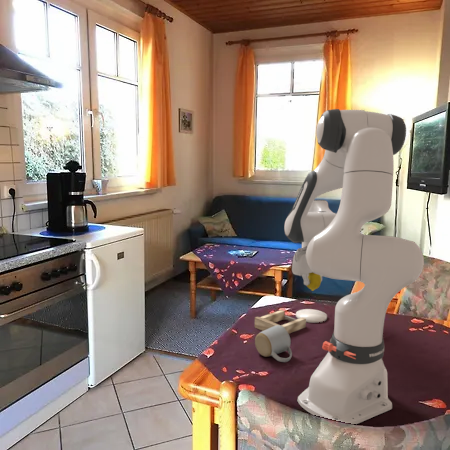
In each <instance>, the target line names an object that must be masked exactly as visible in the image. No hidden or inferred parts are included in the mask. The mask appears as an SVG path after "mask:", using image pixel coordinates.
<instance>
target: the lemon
mask: <svg viewBox="0 0 450 450" xmlns="http://www.w3.org/2000/svg"><path fill="white" fill-rule="evenodd" d="M308 279H309V280H310V285H307V286H306V287H307V288H308V289H309V290H310V291H312V292H314V291H315V290H317V289H318V288H320V286H321V283H322V281H321V276H320V275H318V274H315V273H313V272H312V273H309V276H308Z"/></svg>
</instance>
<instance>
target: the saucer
mask: <svg viewBox="0 0 450 450" xmlns="http://www.w3.org/2000/svg"><path fill="white" fill-rule="evenodd" d="M295 317H296V318H295V319H299V318H302V317H303V318H306V323H312V324H313V323H314V324H316V323H317V324H318V323H319V322H320V323H323V321H324V322H326V321H327V319H328V314H327V313H325V312H324V311H321V310H318V309H312V308H305V309H304V308H303V309H299V310H297V311H296V312H295Z"/></svg>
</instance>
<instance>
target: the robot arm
mask: <svg viewBox="0 0 450 450" xmlns="http://www.w3.org/2000/svg"><path fill="white" fill-rule="evenodd" d="M315 132H316V133H315V134H316V140H317V143H318V145H319V147H320V148H322V149H323V150H324V154H323V156H322V159H321V161H320V163H318V165H317V166H316V168H315V169H313V170H311V171H310V172H308V174H307V175H306V177H305V179H304V180H303V183H302V185H301V186H300V189H299V192H298V194H297V197H296V199H295V201H294V204H293V206H292V208H291V210H290V211H289V213H288V214H287V216H286V218H285V221H284V228H283V229H284V235H285V237H287V239H288V240H290V241H291V242H292V243H295V244H297V243H301V247H300V248H299V247H298V248H297V249H296V251H295V252H294V255H293V257H292V258H293V259H292V266H291V271H292V274H293V275H294V276H299V277H302V279H303V285H304V286H306V287H307V285H310V280H309V279H308V276H309V273H312V272H313V273H315V274H318V275H320V276H321V282H323V277H325V278H329V279H331V280H343V281H349V282H350V281H352V282H360V283H362V284H364V286H363V287H362V289H360V290H358V291H356V292H352V293H350V294H347V295H345V296H343V297H341V298H340V299H339V300H338V301H337V303H336V305H335V307H334V324H333V325H334V327H333V328H334V329H333V333H332V336H331V338H330V339H329V341H327V340H325V341H324V342H323V343H322V347H321V348H322V350H323V351H328V352H327V353H326V354H325V356H324V357H323V359H322V361H320V363H319V365H318V366H317V368H316V369H315V370H314V372H313V373H312V374H311V375H310V379H309V384H308V387H307V388H306V389H304V391H302V392H301V393H300V394H299V395H298V396H297V402H298V405H300V407H301V408H303V410H305V411H306V412H308V413H309V414H311V415H313V416H314V415H316V416H320V417H324V418H328V419H332V420H336V421H341V422H345V423H351V424H356V425H357V424H360V423H363V422H364V421H367V420H369V419H371V418H373V417H376V416H378V415H381V414H383V413H386V412H388V411H390V410H392V409H393V402H392V401H391V400H390V398H389V397H388V395H389V394H388V393H389V392H388V385H389V384H388V371H387V368H386V366H385V364H384V361H383V360H384V359H383V357H384V355H385V353H384V352H385V340H384V337H383V336H384V334H383V333H384V326H385V319H386V313H387V309H388V307H389V305H390V303H391V302H392V300H393V298H394V297H395V296H396V295H397V294H398V293H399V292H400V291H402V290H403V289H405V288H406V287H407V286H409V285H412V284H413V283H415V282H416V281H417V280H418V278H420V276H421V274H422V272H423V270H424V265H425V259H424V254H423V251H422V249H421V248H420V247H419V245H418V244H417V243H416V242H415V241H412V240H409V239H406V238H405V239H404V238H402V237H397V236H390V235H389V236H388V235H375V234H364V233H361V229H362V228H363V226H364V225H365V224H367V223H369V222H371V221H374V220H377V219H379V218H381V217H383V216H384V215H386V214H387V213H388V212H389V211H390V209H391V206H392V202H393V201H392V200H393V199H392V198H393V187H394V184H393V183H394V168H395V167H394V164H395V163H394V155H396V154H398V153H399V152H400V151H401V150H402V149H403V147H404V144H405V141H406V138H407V137H406V136H407V126H406V123H405V121H404V119H403V118H402V117H400V116H398V115H394V114H392V113H388V114H385V113H380V112H375V111H365V109H364V110H363V109H339V108H333V109H328V110H324V112H323V113H322V114H321V116H320V118H319V120H318V122H317V125H316V130H315ZM339 189H342V190H341V197H340V203H339V207H338V210H337V212H333V211H332V210H331V209H330V207H329V203H328V201H327V200H325V199H317V198H318V197H319V196H322V195H324V194H326V193H328V192H332V191H335V190H339ZM316 416H315V417H316Z"/></svg>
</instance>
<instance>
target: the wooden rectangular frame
mask: <svg viewBox="0 0 450 450" xmlns="http://www.w3.org/2000/svg"><path fill="white" fill-rule="evenodd" d="M282 320H283V321H284V320H286V321H288V322H287V323H286V322H285V323H284V324H281V326H282V327H284V328H285V329H286V330H287V332H288V334H289V335H290V334H291V333H294V332H297V331H300V330H302V329H305V328H307V327H306V325H307V322H306V318H303V317H302V318H299V319H297V318H294V317H292V316H288V315H285V310H283V309H280V310H277V311H274V312H270V313H268V314H265V315H262V316H255V317H254V328H255V329H257V330H259V331H261V332H262V331H264V330H267V329H269V328H271V327H273V326H276V325H280V324H278V322H280V321H282Z"/></svg>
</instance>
